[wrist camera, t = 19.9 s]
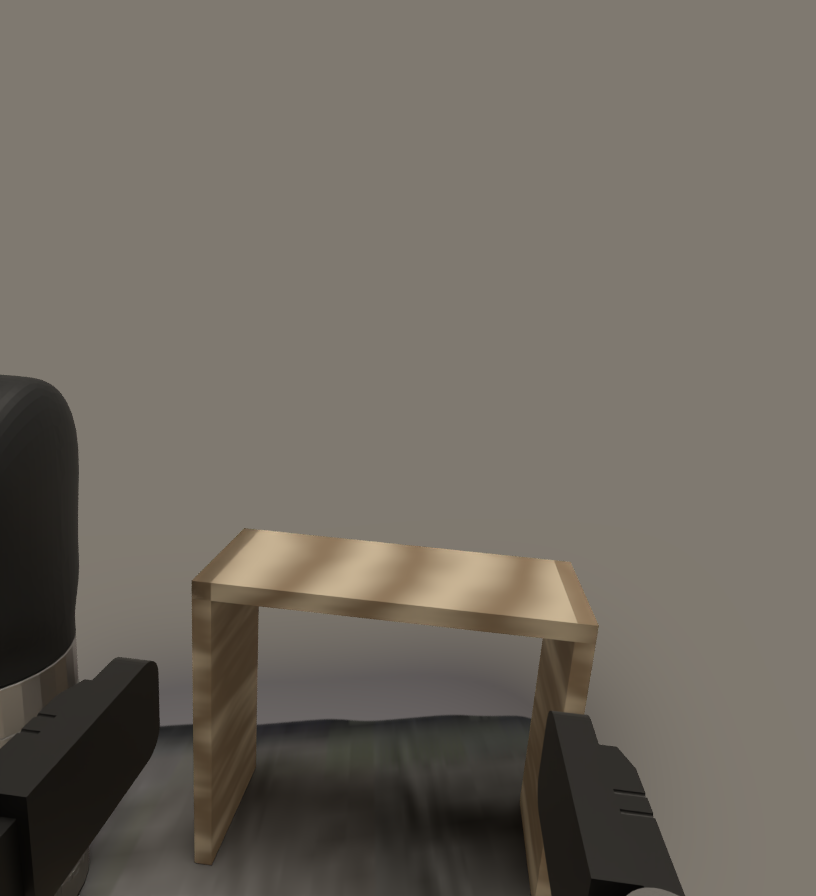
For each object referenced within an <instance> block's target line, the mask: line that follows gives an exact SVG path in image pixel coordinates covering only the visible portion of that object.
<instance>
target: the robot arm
mask: <svg viewBox="0 0 816 896" xmlns="http://www.w3.org/2000/svg"><path fill="white" fill-rule="evenodd" d="M78 478H79V465H78V443H77V435H76V428H75V424H74V420H73V416H72V413H71V411H70V409H69V406H68V404H67V402H66V400H65V399H64V397H63V396H62V395H61V393H60V392H59V391H58V390H57V389H56V388H55V387H54V386H52V385H51V384H49V383H47V382H45V381H43V380H40V379H35V378H30V377H20V376H9V375H0V896H77V895H78V893H79V891H80V889H81V887H82V886H83V884H84V882H85V879H86V876H87V872H88V869H89V845H90V844H91V842H92V841H93V840H94V838H95V837H96V835H97V834H98V832H99V831H100V829H101V828H102V827H103V825H104V824H105V822H106V821H107V819H108V818H109V817H110V815H111V814H112V812H113V811H114V809H115V808H116V807H117V805H118V804H119V802H120V801H121V799H122V798H123V797H124V795H125V794H126V792H127V791H128V789H129V788H130V787H131V785H132V784H133V782H134V781H135V779H136V778H137V777H138V775H139V774H140V772H141V771H142V769H143V768H144V767H145V765H146V764H147V762H148V761H149V759H150V757H151V756H152V754H153V751H154V749H155V746H156V743H157V739H158V735H159V728H160V718H159V681H158V680H159V679H158V667H157V664H156V663H155V662H154V661H147V660H139V659H131V658H122V657H117V658H115V659H113V660H112V661H111V662H110V663H109V664H108V665H107V666H106V667H105V668H104V669H103V670H102V671H101V672H100V673H99V674H98V675H97V676H96V677H95V678H94V679H93V680H83V681H81V682H79V679H78V665H77V649H76V628H75V604H76V595H77V586H78V575H79V553H78V481H79V479H78ZM537 798H538V813H539V819H540V826H541V832H542V839H543V845H544V851H545V858H546V864H547V871H548V877H549V883H550V890H551V896H685V895H684V892H683V889H682V887H681V884H680V882H679V879H678V877H677V874H676V871H675V869H674V866H673V863H672V861H671V858H670V856H669V853H668V851H667V848H666V846H665V843H664V840H663V838H662V835H661V832H660V830H659V827H658V825H657V822H656V820H655V818H653V812H652V809H651V807H650V804H649V801H648V799H647V798H646V797H645V791H644V788H643V786H642V783H641V781H640V778H639V776H638V773H637V770H636V768H635V767H634V766H633V765H632V764H631V763H630V762H629V760H628V759H627V758H626V757H625V756H624V755H623V753H622V752H621V751H620V750H619V749H618V748H617V747H613V746H605V745H599V744H598V741H597V738H596V734H595V731H594V728H593V725H592V722H591V719H590V717H589V716H588V715H584V714H575V713H567V712H559V711H551V710H550V711H549V713H548V716H547V721H546V728H545V735H544V741H543V748H542V755H541V762H540V768H539V775H538V791H537Z"/></svg>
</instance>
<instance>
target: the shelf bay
mask: <svg viewBox="0 0 816 896" xmlns="http://www.w3.org/2000/svg"><path fill="white" fill-rule="evenodd" d="M259 606H262V607H270V608H279V609H288V610H297V611H305V612H314V613H323V614H333V615H341V616H350V617H359V618H369V619H377V620H385V621H394V622H404V623H412V624H421V625H430V626H439V627H447V628H457V629H465V630H474V631H483V632H492V633H501V634H509V635H519V636H527V637H536V638H543V641H542V649H541V655H540V662H539V669H538V677H537V683H536V691H535V698H534V705H533V712H532V719H531V726H530V733H529V740H528V747H527V754H526V761H525V768H524V776H523V783H522V790H521V797H520V808H521V816H522V825H523V833H524V841H525V849H526V858H527V866H528V874H529V882H530V891H531V896H551V890H550V883H549V877H548V871H547V864H546V858H545V851H544V845H543V839H542V832H541V826H540V819H539V813H538V798H537V791H538V775H539V768H540V762H541V755H542V748H543V741H544V735H545V728H546V721H547V716H548V713H549V711H550V710H551V711H559V712H567V713H575V714H584V712H585V706H586V700H587V694H588V688H589V682H590V676H591V670H592V664H593V657H594V651H595V645H596V639H597V633H598V627H599V625H598V623H597V621H596V618H595V616H594V614H593V612H592V609H591V607H590V605H589V603H588V601H587V598H586V596H585V594H584V592H583V589H582V587H581V585H580V582H579V580H578V578H577V576H576V574H575V571H574V569H573V567H572V564H571V562H565V561H555V560H545V559H536V558H525V557H516V556H507V555H497V554H487V553H478V552H468V551H458V550H449V549H438V548H429V547H420V546H410V545H401V544H390V543H381V542H371V541H361V540H352V539H342V538H332V537H324V536H323V537H322V536H314V535H313V536H312V535H304V534H294V533H285V532H275V531H266V530H255V529H246V528H244V529H243V530H242V531H241V532H240V533H239V534H238V535H237V536H236V537H235V538H234V539H233V540H232V541H231V542H230V543H229V544H228V545H227V546H226V547H225V548H224V549H223V550H222V551H221V552H220V553H219V554H218V555H217V556H216V557H215V558H214V559H213V560H212V561H211V562H210V563H209V564H208V565H207V566H206V567H205V568H204V569H203V570H202V571H201V572H200V573H199V574H198V575H197V576H196V577H195V578H194V579H193V580H192V653H193V654H192V656H193V657H192V660H193V753H194V846H195V863H200V864H207V865H212V863H213V861H214V859H215V856H216V854H217V852H218V850H219V848H220V845H221V843H222V841H223V839H224V836H225V834H226V832H227V830H228V828H229V825H230V823H231V821H232V819H233V817H234V814H235V812H236V810H237V808H238V805H239V803H240V801H241V799H242V797H243V794H244V792H245V790H246V788H247V786H248V783H249V781H250V779H251V777H252V774H253V772H254V770H255V768H256V724H257V723H256V722H257V721H256V720H257V667H258V661H257V660H258V612H259Z"/></svg>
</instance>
